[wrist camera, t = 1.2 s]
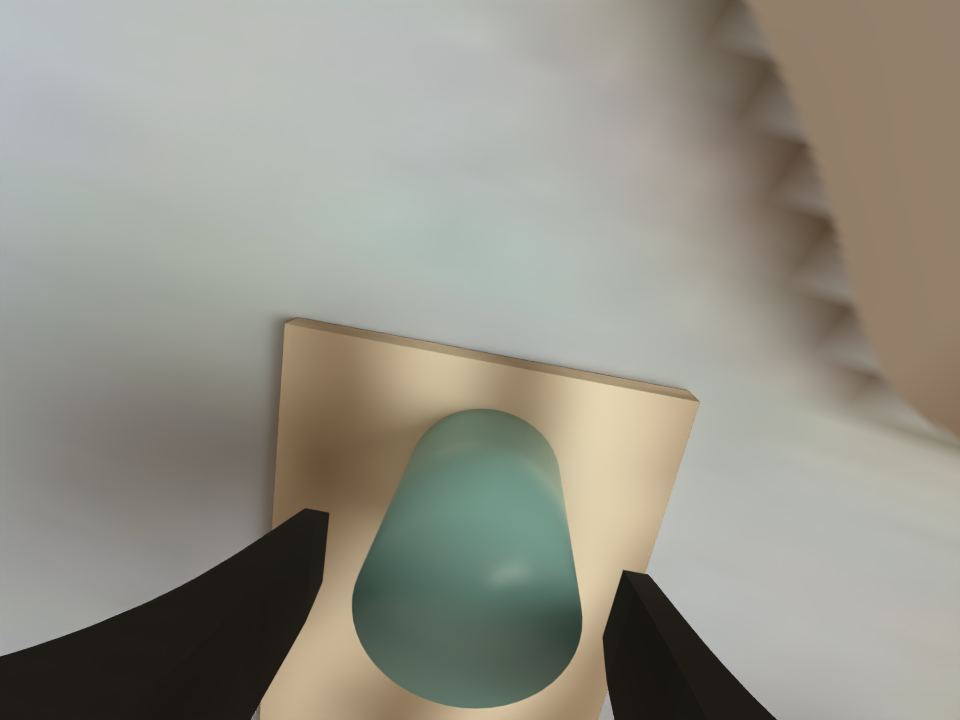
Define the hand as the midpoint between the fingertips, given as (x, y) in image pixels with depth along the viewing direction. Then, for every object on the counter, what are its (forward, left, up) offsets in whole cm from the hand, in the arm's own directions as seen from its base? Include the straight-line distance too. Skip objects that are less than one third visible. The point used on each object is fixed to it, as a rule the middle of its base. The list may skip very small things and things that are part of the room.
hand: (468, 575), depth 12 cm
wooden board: (0, +9, -6) cm, 11 cm away
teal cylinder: (0, 0, -5) cm, 5 cm away
